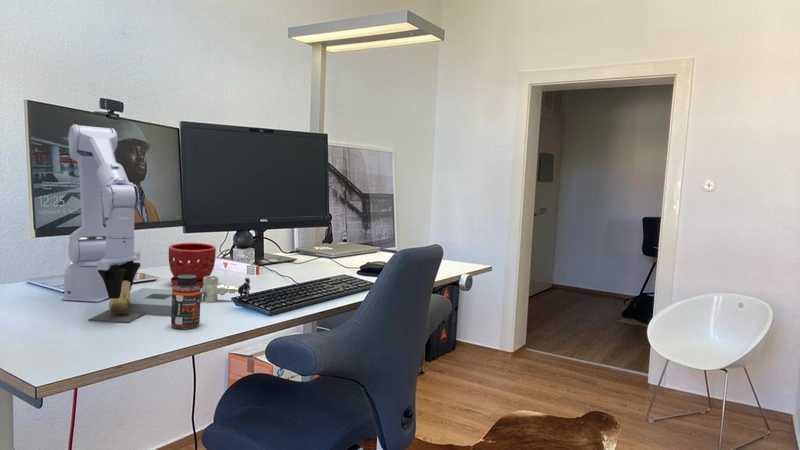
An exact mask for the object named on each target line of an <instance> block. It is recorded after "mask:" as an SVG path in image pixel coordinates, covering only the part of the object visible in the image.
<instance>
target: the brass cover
mask: <svg viewBox="0 0 800 450" xmlns="http://www.w3.org/2000/svg"><path fill="white" fill-rule="evenodd" d="M130 293H131V291H130V281H129V280H126V279H123V280H122V286H121V294H120V297H119V298H118V299H115V298H109V299H110V300H109V302H110V313H113V314H123V313H128V312H130Z"/></svg>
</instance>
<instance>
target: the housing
mask: <svg viewBox="0 0 800 450" xmlns="http://www.w3.org/2000/svg"><path fill="white" fill-rule="evenodd" d="M201 302H203V292H202V291H201V298H200V303H201ZM108 303H109V304H108V310H109V311H110V301H109V302H108ZM171 309H172V289H167V288H165V289H164V288H148V287H147V288H145V287H141V288H139V289H137V290H134V291H132V292H130V312H138V313H145V315H147V316H148V315H149V316H164V317H166V316H167V317H171ZM145 315H144V316H145Z"/></svg>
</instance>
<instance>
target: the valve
mask: <svg viewBox="0 0 800 450" xmlns="http://www.w3.org/2000/svg"><path fill="white" fill-rule="evenodd" d="M244 281H245V282H244V283H242V284H241V285H240V286H238V287H236V286H234V285H232V286H231V285H229V286H227V285H226V284H225V283H221V284H219V276H216V275H210V276H205V277H203V283H204V285H203V287H201V292H202V302H204V303H210V304H211V303H216V302H218V300H219V299H218V295H220V296H225V295H226V294H228V293H229V294H235V293H236V292H237V293H238V295H239V296H240V297H241V296H246V295H249V294H250V290H251V286H250V284H251V279H250V278H249V277H245V278H244Z"/></svg>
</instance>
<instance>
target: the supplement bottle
mask: <svg viewBox="0 0 800 450" xmlns="http://www.w3.org/2000/svg"><path fill="white" fill-rule="evenodd" d="M177 282H178V283H177V284H176V285H174V286H173V287H172V289H171V290H172V309H171V316H170V317H171V318H170V323H171V324H170V325H171V326H172V328H175V329H179V330H189V329H194V328H196V327H198V326H199V325H200V317H201V302H200V298H201V292H202V287H200V286H198V285H197V284H196V282H197V277H196V276H195V275H179V276H178V277H177Z"/></svg>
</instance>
